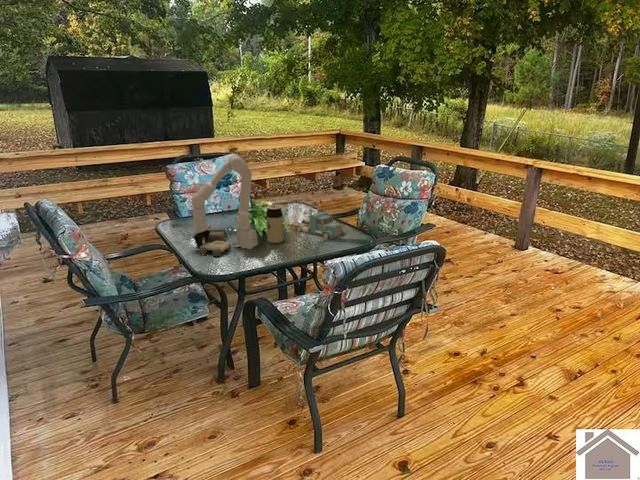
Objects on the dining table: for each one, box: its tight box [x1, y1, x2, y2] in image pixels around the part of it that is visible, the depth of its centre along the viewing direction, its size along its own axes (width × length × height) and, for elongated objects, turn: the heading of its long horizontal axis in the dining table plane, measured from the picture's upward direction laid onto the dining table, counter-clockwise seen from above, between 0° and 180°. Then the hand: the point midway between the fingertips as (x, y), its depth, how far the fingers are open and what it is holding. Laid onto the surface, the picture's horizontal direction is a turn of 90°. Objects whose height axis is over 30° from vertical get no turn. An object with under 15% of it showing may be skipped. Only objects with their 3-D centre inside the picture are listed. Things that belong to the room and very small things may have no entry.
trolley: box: [194, 241, 232, 257], centre depth 223 cm, size 17×10×5 cm, turn 68°
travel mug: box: [265, 204, 284, 244], centre depth 236 cm, size 8×8×18 cm
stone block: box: [207, 228, 229, 243], centre depth 238 cm, size 9×14×5 cm, turn 6°
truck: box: [289, 205, 346, 240], centre depth 250 cm, size 12×29×15 cm, turn 51°
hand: (202, 246), depth 227 cm, fingers closed on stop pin, 3 cm apart
